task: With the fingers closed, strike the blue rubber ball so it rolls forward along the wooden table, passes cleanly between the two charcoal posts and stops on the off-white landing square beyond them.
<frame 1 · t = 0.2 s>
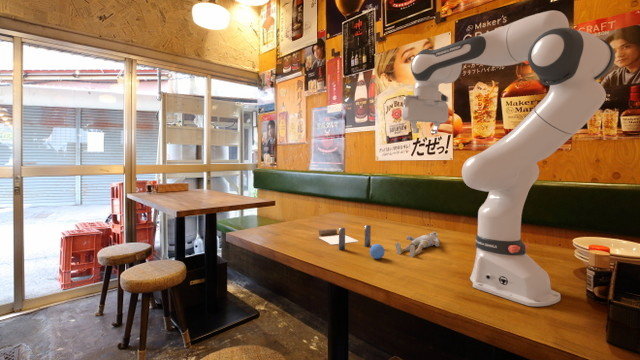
hand: (425, 133, 117), 47 cm above the table, tool pointing down, fingers open, 8 cm apart
post right: (367, 246, 133), on the table
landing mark: (338, 239, 144), on the table
figurine: (421, 249, 131), on the table
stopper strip: (327, 234, 154), on the table
ball: (377, 251, 116), on the table
post left: (341, 249, 128), on the table
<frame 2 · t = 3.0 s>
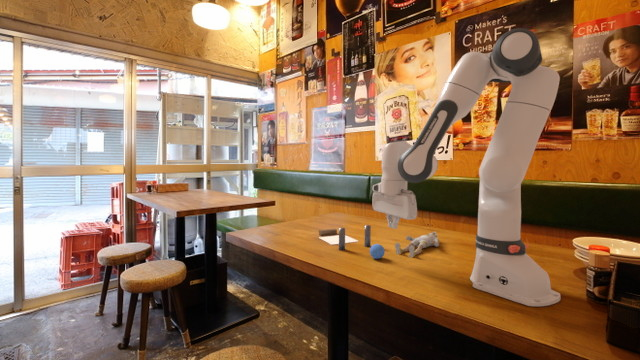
hand: (392, 227, 107), 14 cm above the table, tool pointing down, fingers closed
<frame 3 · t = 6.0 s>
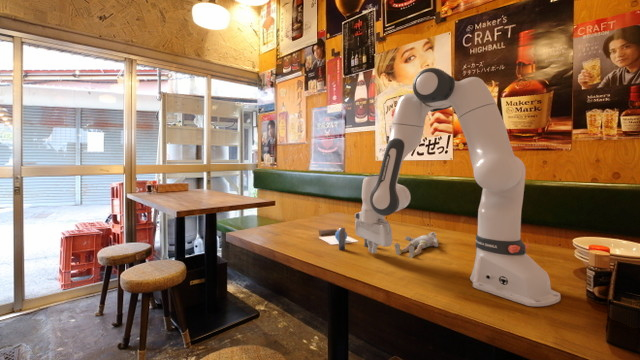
hand: (372, 252, 118), 2 cm above the table, tool pointing down, fingers closed
ball: (341, 235, 141), on the table
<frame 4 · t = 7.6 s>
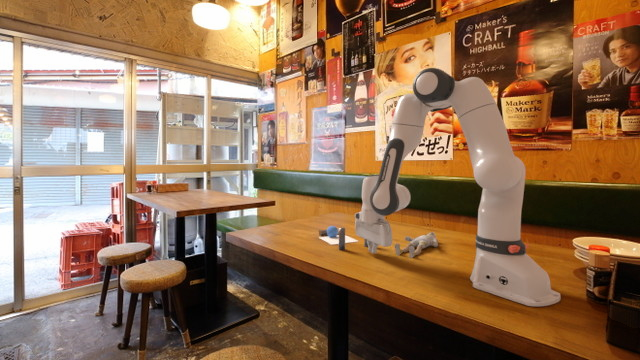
hand: (372, 252, 118), 2 cm above the table, tool pointing down, fingers closed
ball: (332, 231, 148), on the table
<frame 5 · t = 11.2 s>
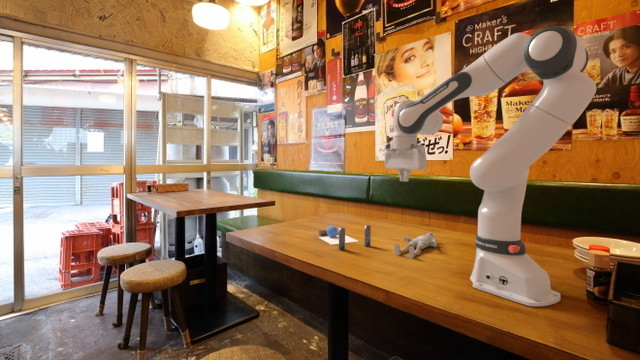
hand: (404, 181, 117), 29 cm above the table, tool pointing down, fingers closed
at the end: ball 5.2 cm from the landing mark (horizontally); ball never touched post left; ball never touched post right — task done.
